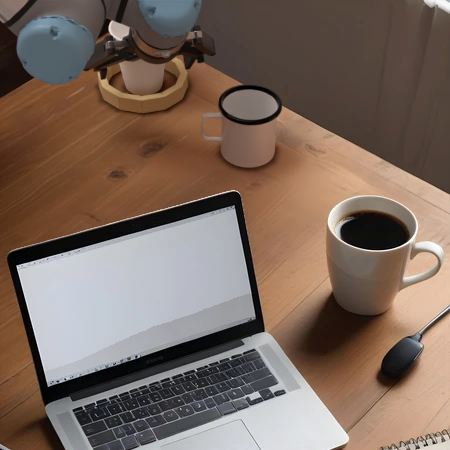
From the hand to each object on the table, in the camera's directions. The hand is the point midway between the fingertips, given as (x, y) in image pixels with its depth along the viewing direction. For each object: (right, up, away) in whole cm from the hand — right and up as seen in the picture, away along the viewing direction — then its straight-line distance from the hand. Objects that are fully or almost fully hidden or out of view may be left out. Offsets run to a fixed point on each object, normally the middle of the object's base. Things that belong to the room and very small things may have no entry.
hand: (144, 65), depth 133 cm
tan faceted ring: (-1, -1, +7) cm, 7 cm away
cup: (-1, -1, +7) cm, 7 cm away
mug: (+15, -14, -3) cm, 21 cm away
